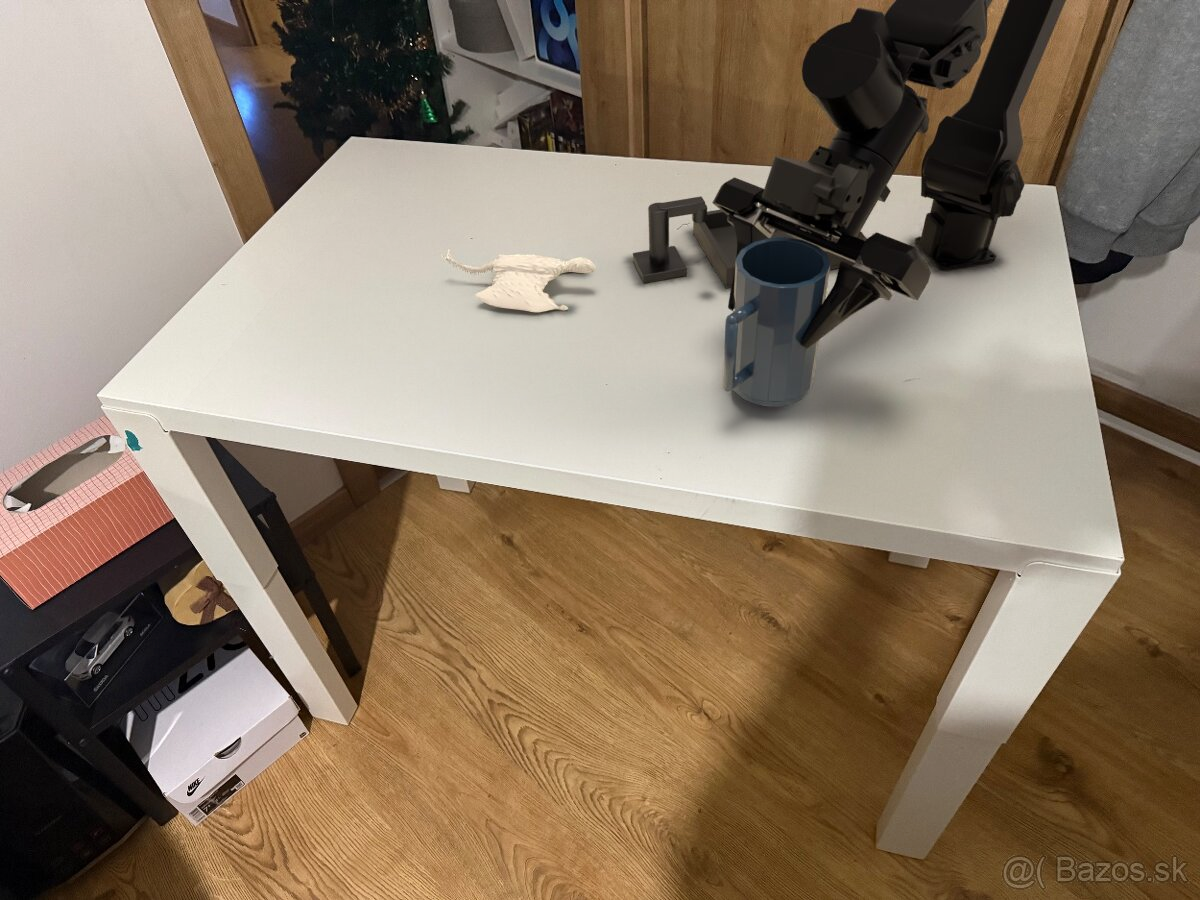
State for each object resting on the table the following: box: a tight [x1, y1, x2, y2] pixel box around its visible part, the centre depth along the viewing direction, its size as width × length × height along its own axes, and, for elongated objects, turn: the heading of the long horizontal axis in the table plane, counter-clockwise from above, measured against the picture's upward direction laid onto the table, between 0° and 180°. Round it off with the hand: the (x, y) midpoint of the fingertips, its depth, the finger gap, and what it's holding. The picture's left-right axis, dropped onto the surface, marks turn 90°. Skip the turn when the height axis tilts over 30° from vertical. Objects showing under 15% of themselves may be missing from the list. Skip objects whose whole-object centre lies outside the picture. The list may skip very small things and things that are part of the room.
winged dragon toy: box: [442, 249, 597, 313], centre depth 90 cm, size 18×10×4 cm, turn 78°
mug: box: [722, 237, 831, 407], centre depth 70 cm, size 10×7×12 cm
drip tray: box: [692, 201, 868, 289], centre depth 93 cm, size 16×12×2 cm
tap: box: [632, 196, 708, 284], centre depth 90 cm, size 8×5×8 cm, turn 102°
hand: (766, 327), depth 70 cm, fingers closed on mug, 7 cm apart
